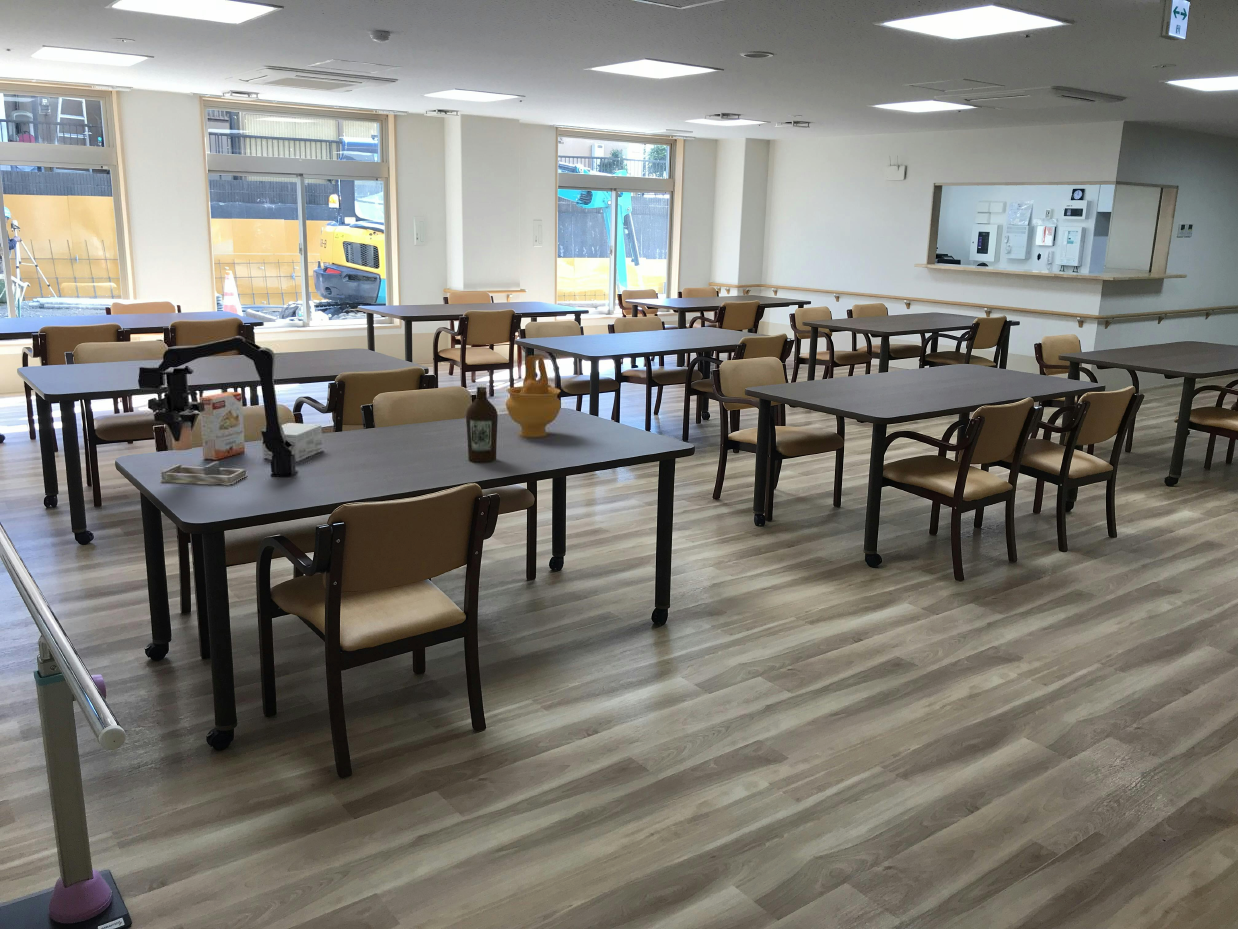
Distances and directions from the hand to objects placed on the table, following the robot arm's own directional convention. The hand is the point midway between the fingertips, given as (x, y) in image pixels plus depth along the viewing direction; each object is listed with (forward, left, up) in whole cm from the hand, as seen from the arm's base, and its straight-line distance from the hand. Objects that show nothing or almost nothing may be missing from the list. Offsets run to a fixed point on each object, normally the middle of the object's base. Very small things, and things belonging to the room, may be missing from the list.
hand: (182, 439), depth 299 cm
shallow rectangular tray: (-6, 0, -12) cm, 14 cm away
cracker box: (+3, -30, -12) cm, 33 cm away
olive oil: (-83, -41, -12) cm, 94 cm away
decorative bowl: (-92, -86, -12) cm, 127 cm away
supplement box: (-18, -36, -13) cm, 42 cm away
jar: (0, 0, -3) cm, 3 cm away
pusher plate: (-9, 0, -12) cm, 15 cm away
